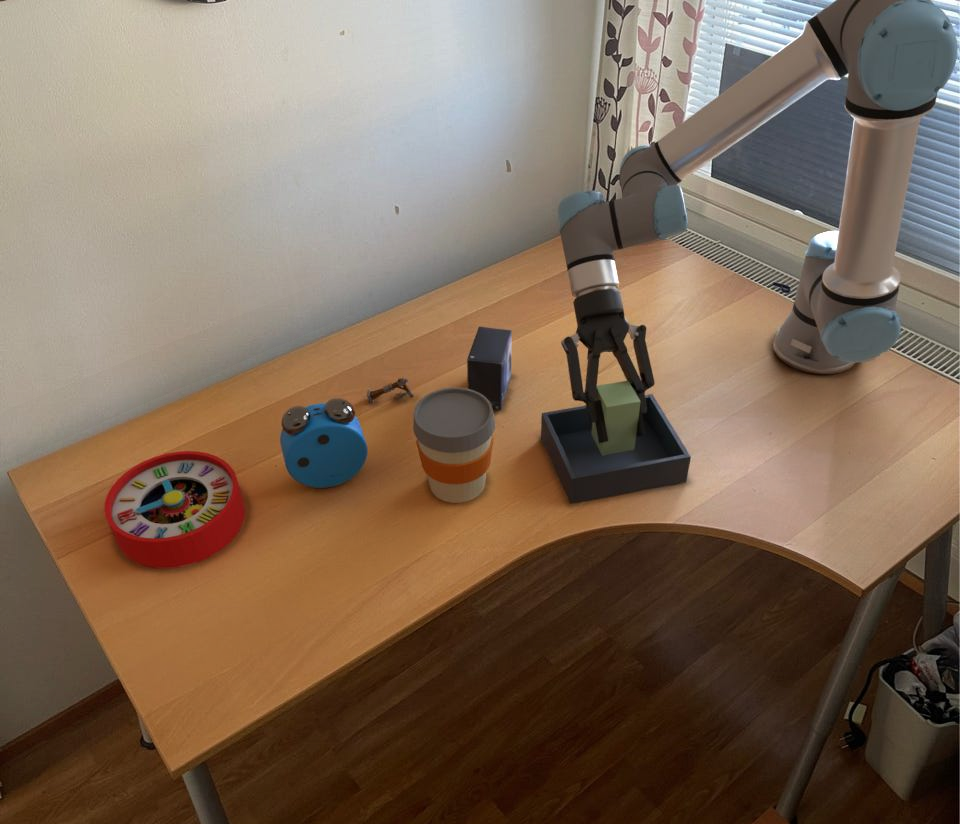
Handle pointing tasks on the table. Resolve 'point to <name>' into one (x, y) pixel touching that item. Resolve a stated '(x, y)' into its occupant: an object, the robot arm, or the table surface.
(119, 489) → the toy clock
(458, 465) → the reusable coffee cup
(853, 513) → the table surface
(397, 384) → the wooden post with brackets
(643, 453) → the bin
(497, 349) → the small box
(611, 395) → the block
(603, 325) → the robot arm
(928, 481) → the table surface
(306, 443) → the alarm clock
